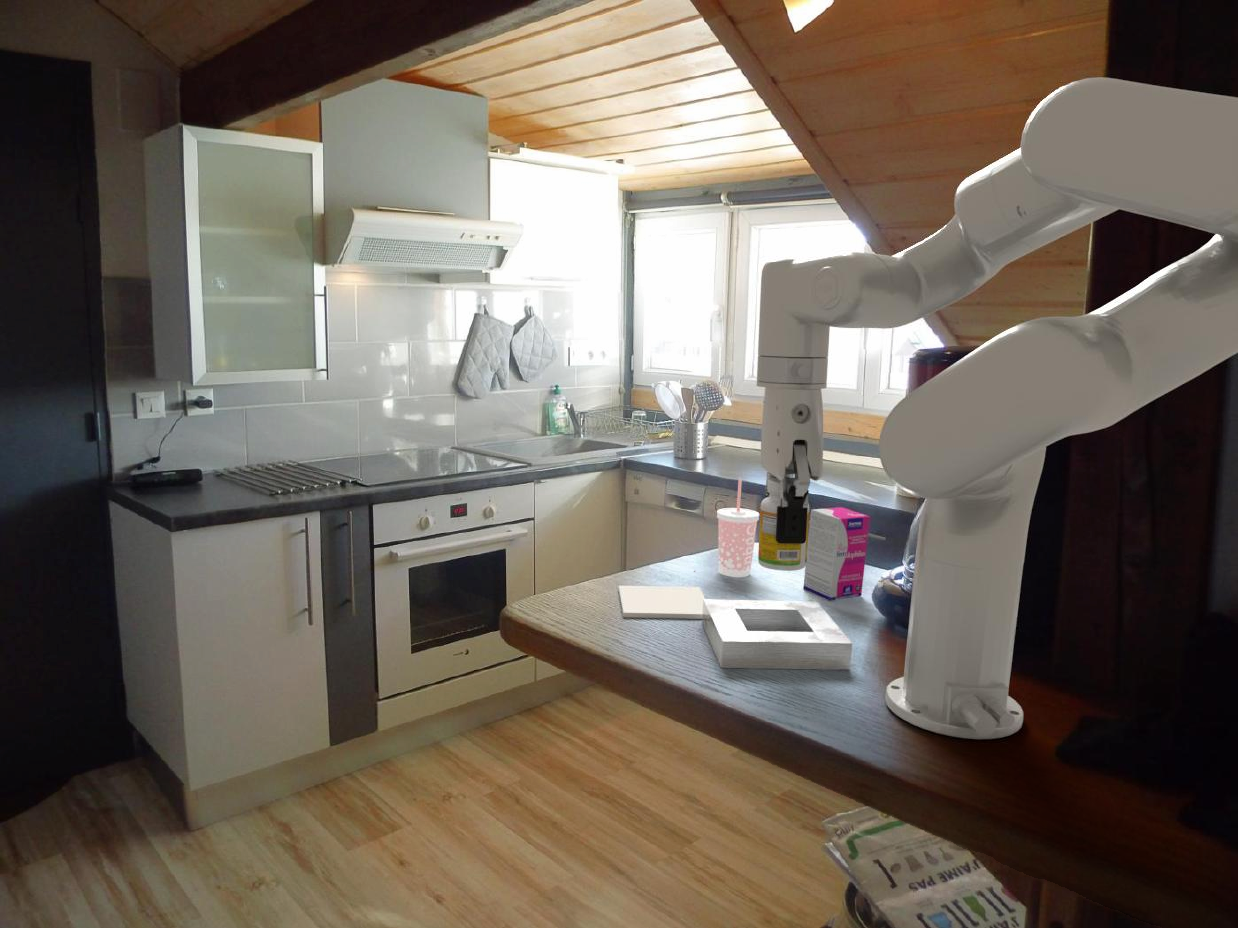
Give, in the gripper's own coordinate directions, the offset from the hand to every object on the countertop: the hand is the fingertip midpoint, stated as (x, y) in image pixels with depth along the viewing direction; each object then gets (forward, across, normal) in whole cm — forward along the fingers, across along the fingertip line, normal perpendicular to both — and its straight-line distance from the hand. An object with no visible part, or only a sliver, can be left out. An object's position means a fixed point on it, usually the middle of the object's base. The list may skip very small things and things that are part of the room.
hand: (783, 534), depth 102 cm
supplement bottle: (+4, 0, 0) cm, 4 cm away
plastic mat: (+13, +15, +12) cm, 23 cm away
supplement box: (+13, +21, -12) cm, 28 cm away
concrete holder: (+13, +1, +1) cm, 13 cm away
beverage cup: (+13, +30, 0) cm, 32 cm away
